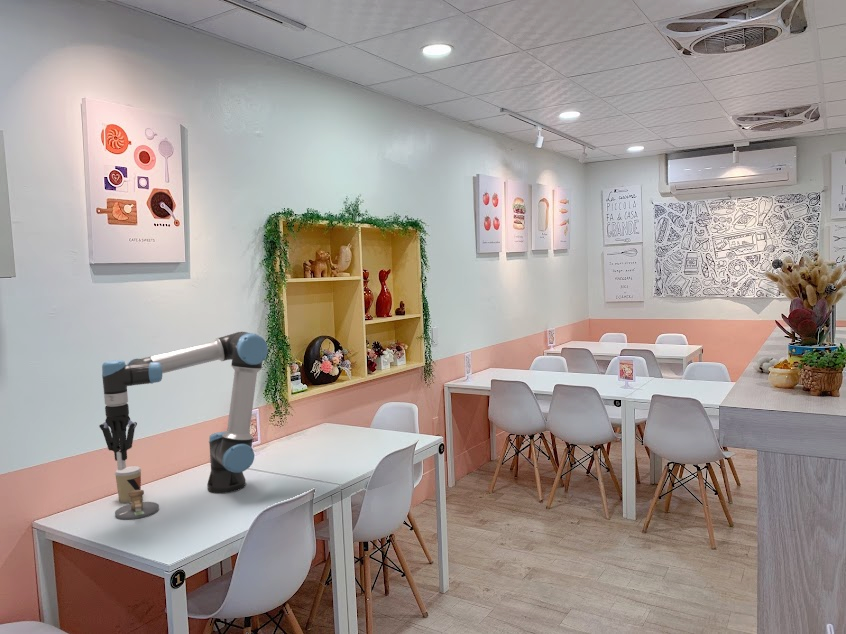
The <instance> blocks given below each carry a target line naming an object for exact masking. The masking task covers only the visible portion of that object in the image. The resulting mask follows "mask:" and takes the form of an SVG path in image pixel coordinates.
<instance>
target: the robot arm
mask: <svg viewBox="0 0 846 634" xmlns="http://www.w3.org/2000/svg"><path fill="white" fill-rule="evenodd" d="M268 347H269V346H268V343H267V342H266V340H265V339H264V338H263V337H262V336H261V335H259V334H256V333H253V332H247V331H236V332H234V333H231V334H227V335H224V336H221V337H217V338H215V339H214V341H211V342H206V343H202V344H198V345H194V346H189V347H184V348H181V349H176V350H172V351H168V352H163V353H159V354H155V355H150V356H147V357H146V356H145V357H143V358H142V357H141V358H132V359H130V360H129V361H128V362H127V364H126V362H125V361H124V360H122V359H117V360H116V359H115V360H107V361H104V362H103V363H102V365H101V371H102V374H101V376H102V387H103V395H104V396H103V398H104V399H103V400H104V405H105V406H104V412H105V417H106V418H105V420H104V421H105V422H103V423H101V424H99V425H98V427H99V428H100V430H101V431H102V433H103V437H104V440H105V442H106V446H107V450H108V451H113V453H114V460H115V462H117V466H116V467H117V470H123V469H125V468H126V467H127V466H126V464H127V463H126V460H128V452H127V451H128V450H130V449H132V447H133V442H134V436H135V429H136V427H137V426H138V422H136V421H132V420H131V418H130V415H129V414H130V409H129V404H128V402H129V397H128V387H130V386H131V387H132V386H139V385H146V384H147V385H149V384H154V383H160V382H161V381H162V379H163V374H166V373H170V372H173V371H178V370H183V369H187V368H190V367H196V366H198V365H202V364H207V363H209V362H210V363H211V362H214V361H221V362H225V361H230V360H231V365H230V366H231V367H232V369H233V371H234V373H233V380H232V381H233V383H232V390H231V395H230V397H231V398H230V405H229V414H228V420H227V429H226V430H224V431H218V432H213V433H211V434H210V435H209V439H208V440H209V441H208V445H209V457H210V458H209V459H210V473H209V477H208V479H207V485H206V487H207V491H208V492H210V493H212V494H213V493H214V494H226V493H234V492H236V491H240V490H242V489H244V488H245V487H246V485H247V483H246V481H247V480H246V478H245V475H244V472H245V471H247V470H248V469H249V468H250V467H252V465H253V463H254V461H255V451H254V449H253V439H254V436H253V435H252V434H251V432H250V431H251V424H252V423H251V422H252V416H253V408H254V399H255V392H256V385H257V378H258V377H257V376H258V372H260V371H261V370H262V367H263V362H264V361H265V359H266V358H267V355H268V353H269V349H268ZM127 427H128V429H127Z"/></svg>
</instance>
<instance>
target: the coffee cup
mask: <svg viewBox="0 0 846 634" xmlns="http://www.w3.org/2000/svg"><path fill="white" fill-rule="evenodd" d="M141 472H142V469H141V467H140V466H137V465H136V466H135V465H132V466H131V465H130V466H126V468H125V469H123V470H118V469H116V470H115V473H114V475H115V480H116V481H115V482H116V488H117V494H118V501H119V503H124V504H125V503H128V504H129V503H131V497H129V492H131V491H134V490H142V488H141V487H142V486H141V485H142V478H141V477H142V473H141Z"/></svg>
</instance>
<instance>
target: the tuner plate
mask: <svg viewBox="0 0 846 634" xmlns="http://www.w3.org/2000/svg"><path fill="white" fill-rule="evenodd" d="M159 510H160V504H159V503H157V502H154V501H143V508H142V509H141V511H137V512H136V510H131V503H128V504H126V505H123V506H121V507H119V508H117V509H116V510H115V511H114V516H115V518H116V519H118V520H123V521H128V520H129V521H131V520H133V521H134V520H139V519H143V518H144V519H145V518H147V517H151V516H152V515H155V514H157V513H158V511H159Z"/></svg>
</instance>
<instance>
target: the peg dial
mask: <svg viewBox="0 0 846 634" xmlns="http://www.w3.org/2000/svg"><path fill="white" fill-rule="evenodd" d="M144 495H145V491H144V490H143V489H141V490H134V491H131V492H129V497H131V502H130V504H131V510H136V512H137V511H141V509H142V508H143V502H144V500H143V496H144Z"/></svg>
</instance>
